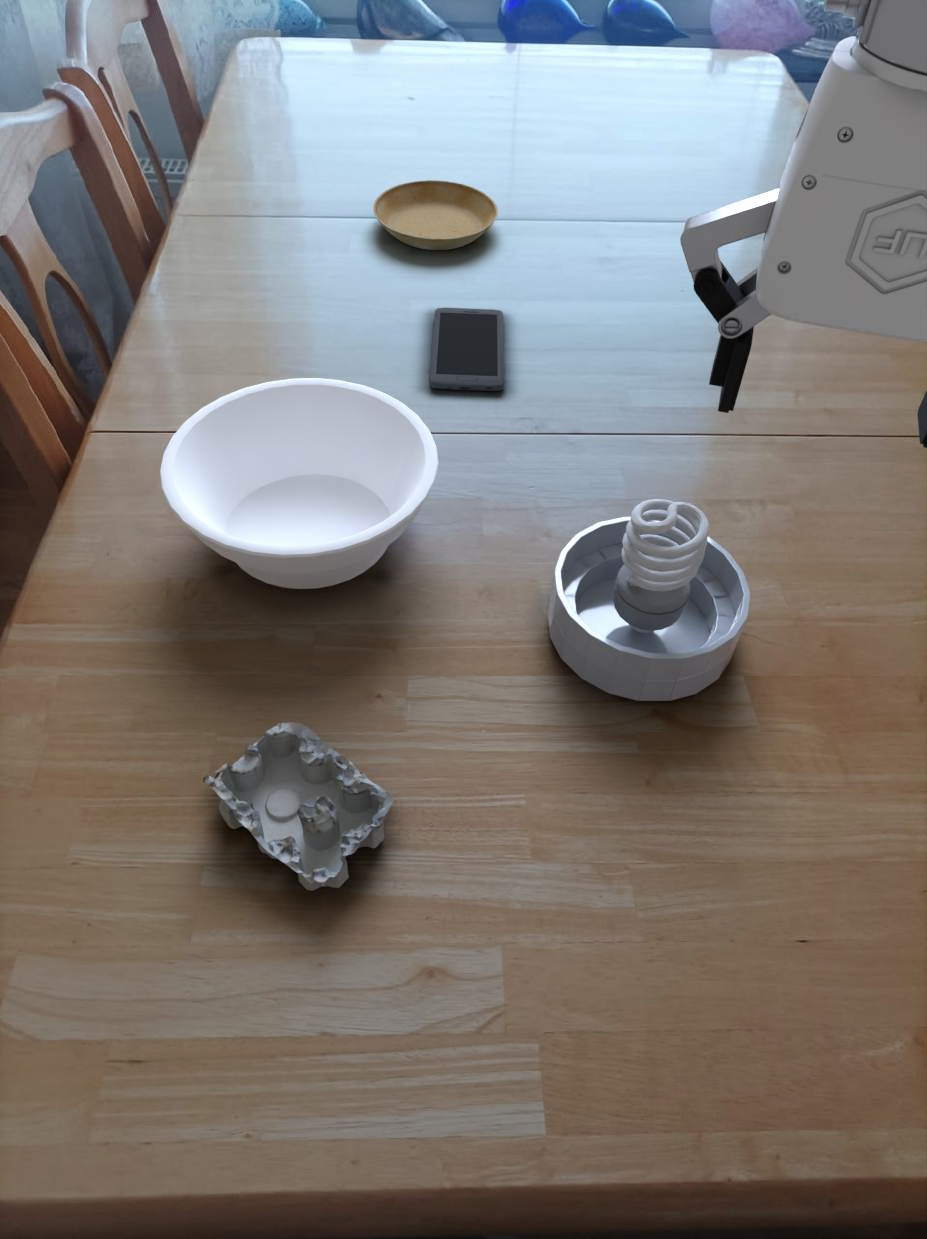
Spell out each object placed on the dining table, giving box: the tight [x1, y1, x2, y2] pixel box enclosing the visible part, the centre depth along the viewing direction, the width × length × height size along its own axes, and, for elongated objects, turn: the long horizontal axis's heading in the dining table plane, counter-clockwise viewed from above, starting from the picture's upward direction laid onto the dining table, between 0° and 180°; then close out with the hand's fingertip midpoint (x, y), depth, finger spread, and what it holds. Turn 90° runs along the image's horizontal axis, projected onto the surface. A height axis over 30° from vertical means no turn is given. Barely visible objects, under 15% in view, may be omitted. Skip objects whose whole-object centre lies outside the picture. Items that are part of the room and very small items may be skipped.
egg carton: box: [202, 721, 395, 892], centre depth 59 cm, size 11×8×4 cm
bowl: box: [159, 377, 440, 590], centre depth 74 cm, size 21×21×8 cm
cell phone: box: [429, 307, 506, 392], centre depth 95 cm, size 7×14×1 cm, turn 179°
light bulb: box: [614, 498, 711, 633], centre depth 67 cm, size 6×6×12 cm
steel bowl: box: [547, 516, 752, 702], centre depth 70 cm, size 14×14×6 cm
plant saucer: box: [372, 179, 499, 251], centre depth 112 cm, size 15×15×3 cm
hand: (824, 414), depth 46 cm, fingers open, 9 cm apart
